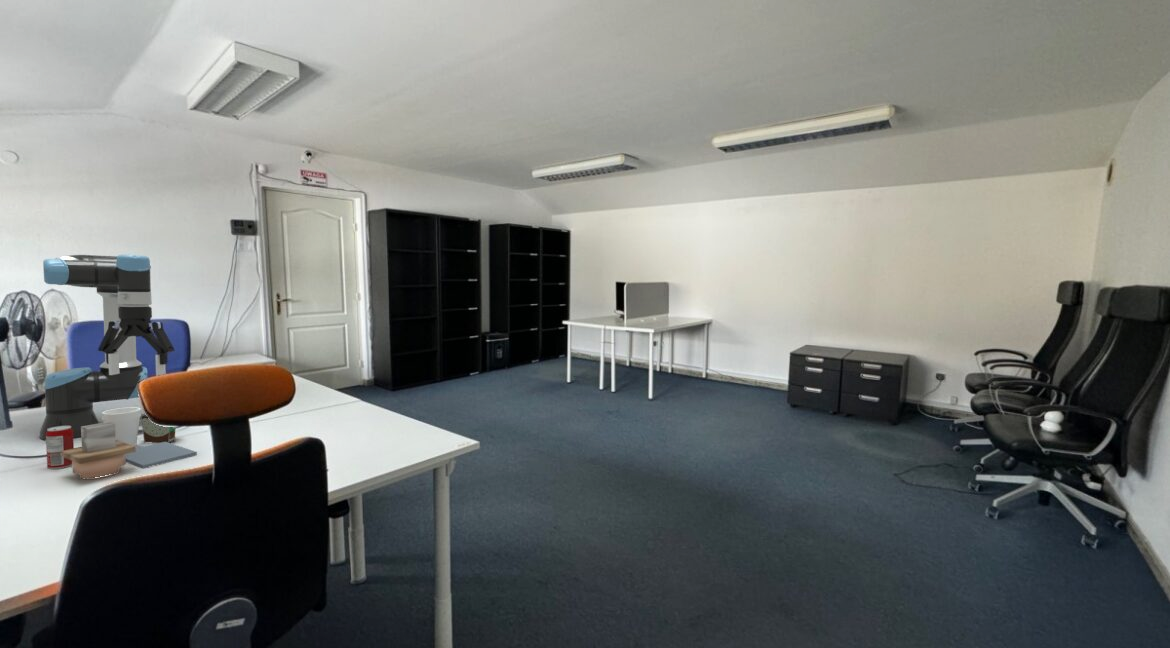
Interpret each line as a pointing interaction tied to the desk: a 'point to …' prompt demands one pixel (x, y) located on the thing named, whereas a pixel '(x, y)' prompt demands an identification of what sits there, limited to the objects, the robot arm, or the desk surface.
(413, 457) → the desk surface
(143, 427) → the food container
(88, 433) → the lid
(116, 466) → the bowl
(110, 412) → the foam cup
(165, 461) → the mat
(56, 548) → the desk surface
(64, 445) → the soda can
